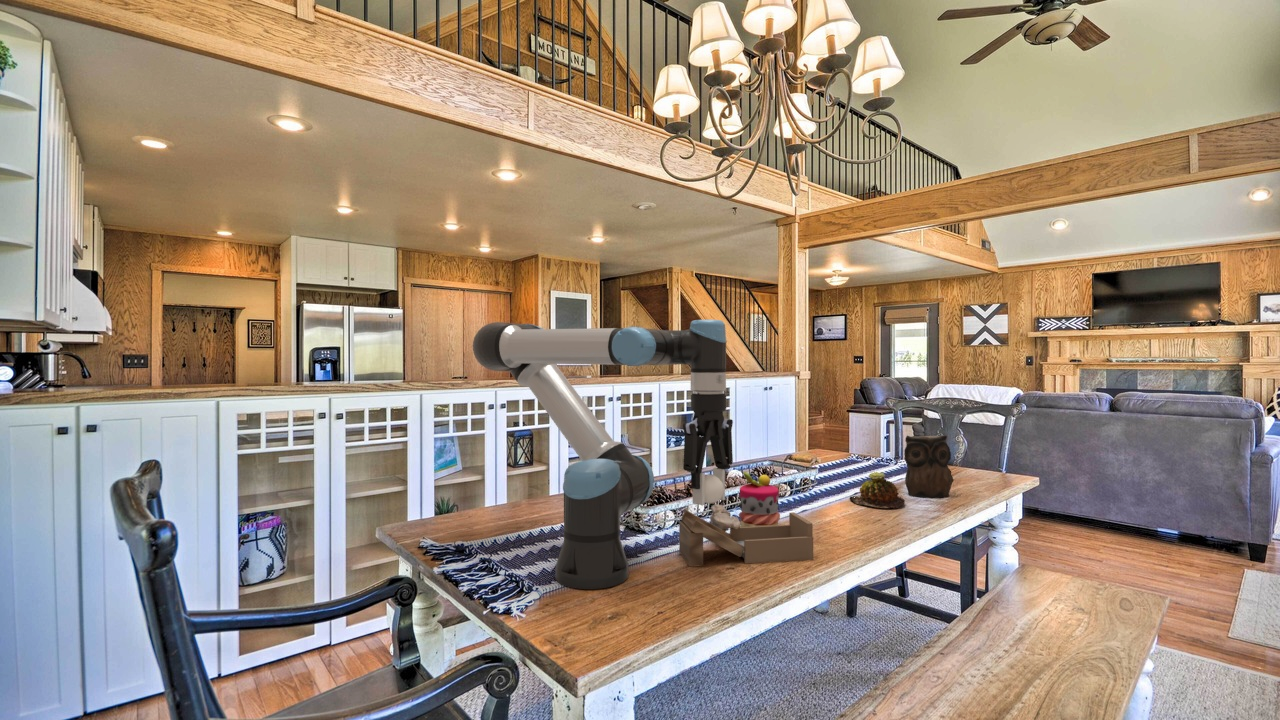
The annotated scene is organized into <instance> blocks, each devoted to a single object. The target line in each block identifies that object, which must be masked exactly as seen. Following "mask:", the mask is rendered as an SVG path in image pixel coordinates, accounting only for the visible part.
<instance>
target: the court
mask: <svg viewBox="0 0 1280 720" xmlns="http://www.w3.org/2000/svg"><path fill="white" fill-rule="evenodd" d="M788 514H789V515H788V516H789V517H788V520H789V521H788V523H789V524H778V525H772V526H753V527H741V526H740V527H739V528H738V529H734V528H729V534H731V535H732V538H731V539H732V540H733V541H735V542H737V543H739V544H741V545H743V546H744V547H745V550H744V552H743V554H742V556H741V557H742V559H744V560H743V562H744V564H745V565H746V564H748V565H749V564H761V563H763V564H764V563H776V562H777V563H778V562H779V563H780V562H793V561H794V562H795V561H797V562H798V561H809V560H810V561H811V560H814V536H813V522H811V521H809V520H808V519H805V518H804V517H803V516H801V515H799V514H797V512H789V513H788Z"/></svg>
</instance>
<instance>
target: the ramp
mask: <svg viewBox="0 0 1280 720" xmlns="http://www.w3.org/2000/svg"><path fill="white" fill-rule="evenodd" d="M680 520H681V521H679V522H678V523H679V527H678V528H679V529H678V530H679V536H678V537H679V539H678V541H679V542H678V543H679V544H678V545H679V546H678V547H679V553H680V555H681V556H682V557H683V559H684V560H685V562H686V563H687V565H688V566H689V567H700V566H704V539H706V540H708V541H710V542H712V543H714V544H715V545H717V546H718V547H720V548H722V549H724V550H726V551H728V552H730V553H732V554H734V555H736V556H738V557H739V558H741V557H742V554H743V552H744V550H745V547H744V546H743V545H741V544H739V543H737V542H735V541H733V540H732V539H731V538H732V535H731V534H730V532H727V531H726V532H725V531H723V530H722V529H720V528H718V527H716V526H714V525H712V524H711V522H708V521H707V520H705V519H703V518H701V517H700V516H697V515H696V514H694V513H692V512H690V511H688V510H686V509H684V512H683V514H682V515H681V517H680Z"/></svg>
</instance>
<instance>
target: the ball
mask: <svg viewBox="0 0 1280 720" xmlns="http://www.w3.org/2000/svg"><path fill="white" fill-rule="evenodd" d="M723 492H724V487H723V484H722V482H721V480H720V479H719V478H718V477H716V476H714V475H713V474H705V503H706V504H715V503H717V502H718V501H720V500H719V499H720V498H721V497H722V495H723Z"/></svg>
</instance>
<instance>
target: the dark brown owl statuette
mask: <svg viewBox="0 0 1280 720" xmlns="http://www.w3.org/2000/svg"><path fill="white" fill-rule="evenodd" d="M947 438H948V436H947V435H944V434H943V435H927V436H926V435H921V436H920V435H919V436H918V435H917V436H915V435H914V436H910V435H906V437H905V444H906V445H905V447H904V450H903V452H904V461H905V464H906V467H907V470H906V474H905V477H904V480H905V481H904V482H905V488H906V490H907V492H908V493H907V495H908V496H909V497H915V498H923V499H924V498H931V499H932V498H937V499H940V498H941V499H942V498H946V497H949V496H950V491H951V488H952V484H953V482H954V478H953V475H952V470H951V469H950V468H949V466H948V463H950V461H951V458H952V453H951V448H950V446H949V445H948V443H947Z"/></svg>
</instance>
